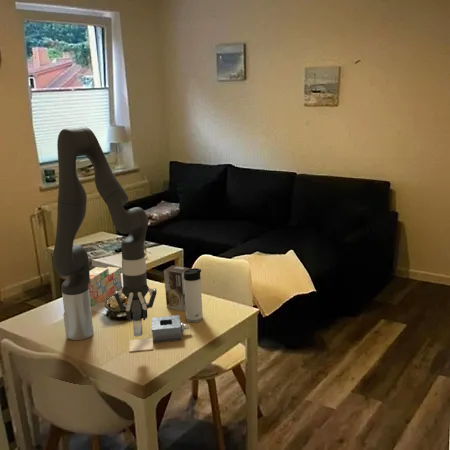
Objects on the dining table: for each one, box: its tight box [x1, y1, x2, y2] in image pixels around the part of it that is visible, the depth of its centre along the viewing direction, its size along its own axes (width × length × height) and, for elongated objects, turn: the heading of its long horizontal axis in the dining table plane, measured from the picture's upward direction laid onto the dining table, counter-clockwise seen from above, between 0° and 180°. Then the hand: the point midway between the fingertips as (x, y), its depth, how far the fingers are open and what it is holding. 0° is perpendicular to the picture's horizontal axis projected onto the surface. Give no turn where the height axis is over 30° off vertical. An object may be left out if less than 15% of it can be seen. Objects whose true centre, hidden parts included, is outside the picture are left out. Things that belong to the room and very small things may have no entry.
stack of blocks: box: [88, 266, 123, 307], centre depth 227 cm, size 21×6×12 cm, turn 159°
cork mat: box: [128, 337, 154, 353], centre depth 184 cm, size 8×8×1 cm
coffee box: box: [163, 265, 192, 312], centre depth 212 cm, size 9×6×16 cm
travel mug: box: [184, 268, 204, 323], centre depth 200 cm, size 6×7×20 cm
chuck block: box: [151, 314, 191, 344], centre depth 190 cm, size 13×10×5 cm
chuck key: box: [130, 299, 143, 337], centre depth 173 cm, size 4×4×13 cm
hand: (137, 319), depth 174 cm, fingers closed on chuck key, 4 cm apart
